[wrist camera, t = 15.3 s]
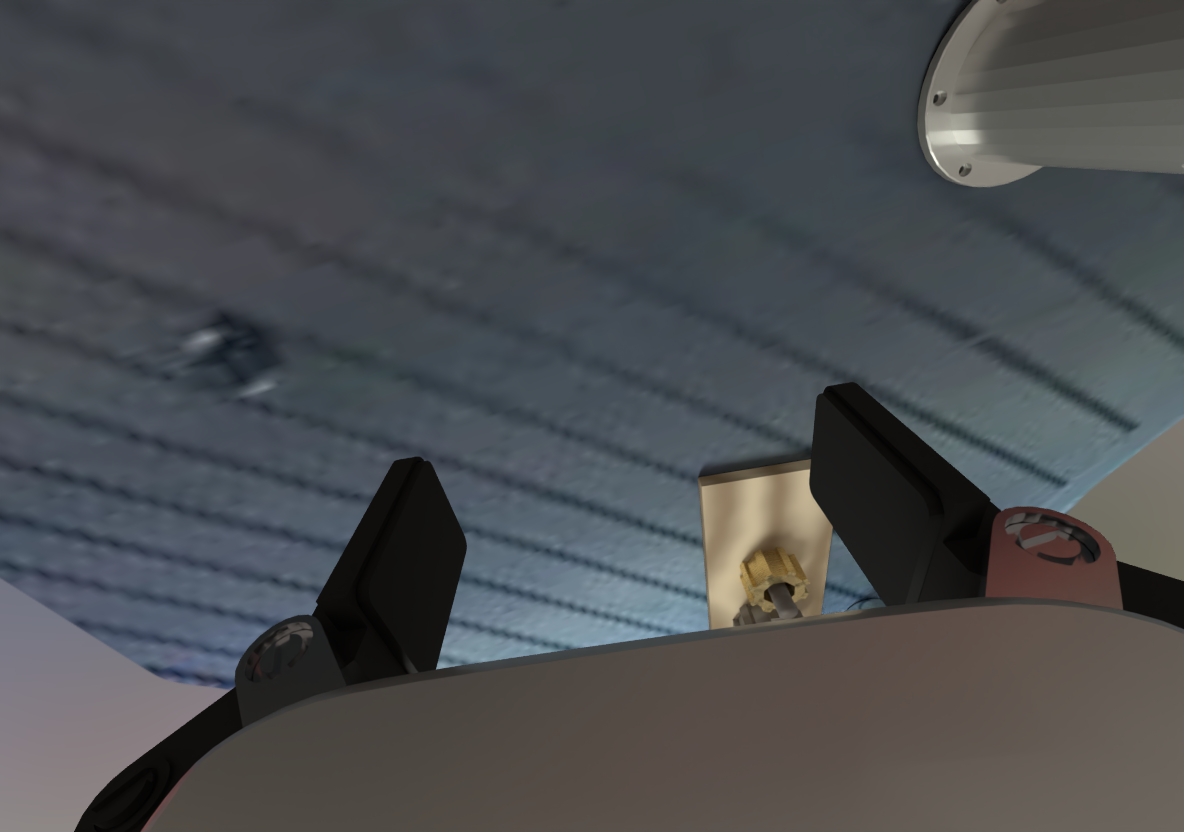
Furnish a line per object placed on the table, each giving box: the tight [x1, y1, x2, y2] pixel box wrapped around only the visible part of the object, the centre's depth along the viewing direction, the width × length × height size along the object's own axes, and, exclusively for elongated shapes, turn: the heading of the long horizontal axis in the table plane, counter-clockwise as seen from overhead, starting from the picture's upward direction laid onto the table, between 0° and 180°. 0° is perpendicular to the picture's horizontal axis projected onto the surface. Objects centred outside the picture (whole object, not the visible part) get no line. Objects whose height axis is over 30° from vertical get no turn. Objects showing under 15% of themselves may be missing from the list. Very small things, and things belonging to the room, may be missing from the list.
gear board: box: [698, 459, 833, 630], centre depth 52 cm, size 14×29×8 cm, turn 10°
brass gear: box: [739, 547, 810, 612], centre depth 52 cm, size 7×7×4 cm
